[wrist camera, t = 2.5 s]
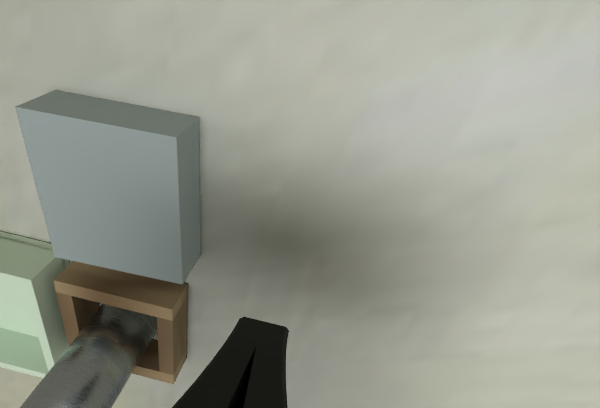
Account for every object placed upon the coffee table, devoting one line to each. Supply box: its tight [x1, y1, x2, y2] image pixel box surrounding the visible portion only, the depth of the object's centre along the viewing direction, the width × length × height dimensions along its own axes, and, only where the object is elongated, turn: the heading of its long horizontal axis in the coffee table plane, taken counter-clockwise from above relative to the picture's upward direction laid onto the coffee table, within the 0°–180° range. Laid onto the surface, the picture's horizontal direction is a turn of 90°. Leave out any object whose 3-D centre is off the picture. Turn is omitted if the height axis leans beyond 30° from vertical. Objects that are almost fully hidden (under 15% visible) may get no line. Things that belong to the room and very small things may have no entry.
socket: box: [53, 261, 188, 384], centre depth 22 cm, size 6×6×2 cm
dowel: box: [20, 304, 157, 408], centre depth 19 cm, size 3×3×7 cm
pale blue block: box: [15, 90, 201, 285], centre depth 17 cm, size 6×7×2 cm
